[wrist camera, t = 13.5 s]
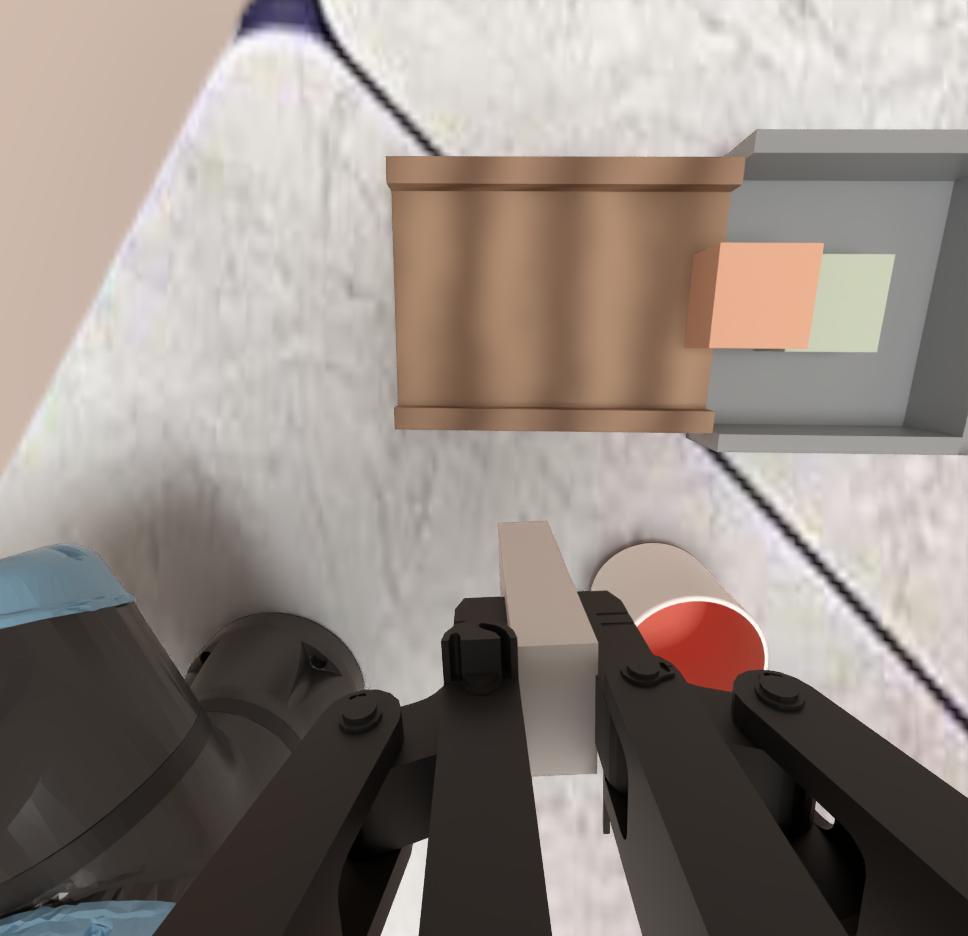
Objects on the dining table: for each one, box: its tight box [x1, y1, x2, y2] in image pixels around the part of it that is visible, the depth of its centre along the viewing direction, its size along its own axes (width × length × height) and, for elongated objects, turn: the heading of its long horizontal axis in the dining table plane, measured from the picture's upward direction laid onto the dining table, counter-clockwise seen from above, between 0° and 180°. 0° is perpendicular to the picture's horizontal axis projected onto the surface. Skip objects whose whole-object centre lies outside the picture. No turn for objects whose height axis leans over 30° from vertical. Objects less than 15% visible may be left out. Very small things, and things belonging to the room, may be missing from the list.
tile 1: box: [754, 254, 895, 352], centre depth 34 cm, size 6×6×4 cm
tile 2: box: [684, 243, 824, 349], centre depth 31 cm, size 6×6×4 cm
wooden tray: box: [386, 156, 746, 433], centre depth 34 cm, size 22×17×4 cm
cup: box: [591, 543, 768, 692], centre depth 37 cm, size 10×10×10 cm
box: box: [686, 129, 968, 455], centre depth 33 cm, size 17×19×6 cm
